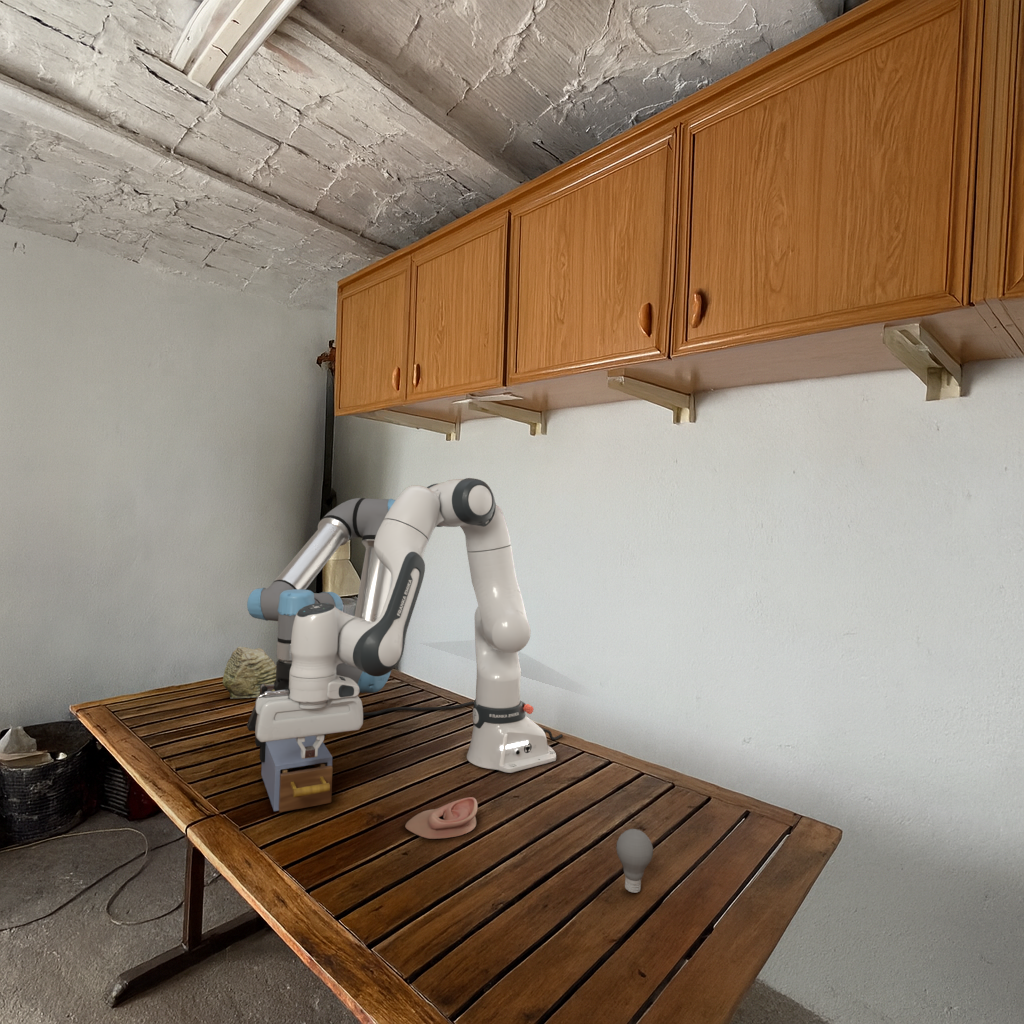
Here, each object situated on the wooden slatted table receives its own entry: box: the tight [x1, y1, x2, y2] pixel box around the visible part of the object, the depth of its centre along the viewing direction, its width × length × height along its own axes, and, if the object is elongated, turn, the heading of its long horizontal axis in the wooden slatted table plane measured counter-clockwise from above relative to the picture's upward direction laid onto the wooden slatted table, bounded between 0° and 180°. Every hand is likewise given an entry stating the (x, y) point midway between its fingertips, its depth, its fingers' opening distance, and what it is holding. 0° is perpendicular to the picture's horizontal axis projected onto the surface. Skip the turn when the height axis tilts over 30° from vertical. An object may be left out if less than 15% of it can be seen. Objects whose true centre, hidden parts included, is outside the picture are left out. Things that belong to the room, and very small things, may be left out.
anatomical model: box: [404, 796, 479, 840], centre depth 124 cm, size 13×4×12 cm
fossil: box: [222, 646, 276, 699], centre depth 198 cm, size 9×18×15 cm, turn 132°
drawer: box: [278, 763, 334, 813], centre depth 132 cm, size 22×10×7 cm, turn 29°
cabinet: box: [260, 736, 333, 812], centre depth 137 cm, size 18×11×9 cm, turn 29°
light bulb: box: [615, 828, 654, 894], centre depth 106 cm, size 6×6×10 cm
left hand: (290, 755), depth 143 cm, fingers closed on cabinet, 11 cm apart
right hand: (309, 756), depth 125 cm, fingers closed
